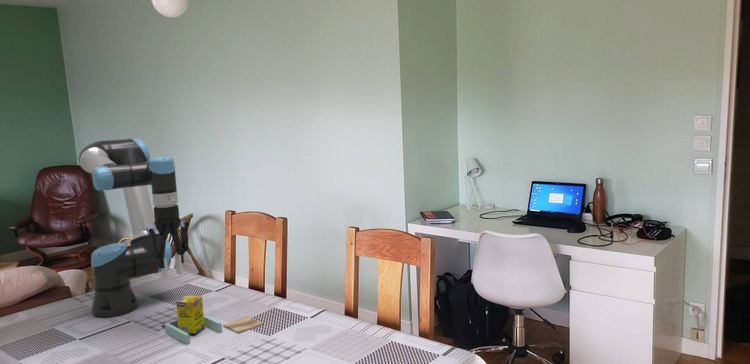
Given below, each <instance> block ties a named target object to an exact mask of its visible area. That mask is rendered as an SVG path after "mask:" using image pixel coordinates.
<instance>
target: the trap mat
mask: <svg viewBox="0 0 750 364" xmlns="http://www.w3.org/2000/svg"><path fill="white" fill-rule="evenodd" d="M168 323H169V324H171V325H173V326H175V327H176V328H178V329H179V327H178V320H175V321H172V322H168ZM160 326H161V328H163V329H165V324H162V325H160Z"/></svg>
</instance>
